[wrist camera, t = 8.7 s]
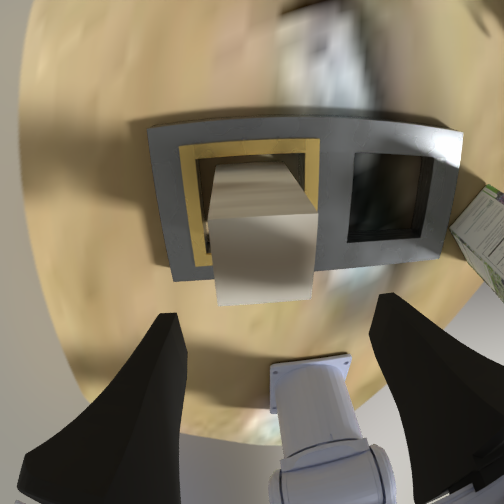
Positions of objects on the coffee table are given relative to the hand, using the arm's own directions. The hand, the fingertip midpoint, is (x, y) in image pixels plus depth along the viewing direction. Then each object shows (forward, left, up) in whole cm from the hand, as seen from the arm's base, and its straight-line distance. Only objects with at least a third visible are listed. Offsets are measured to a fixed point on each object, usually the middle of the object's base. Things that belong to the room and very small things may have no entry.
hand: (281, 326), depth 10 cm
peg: (+1, 0, -10) cm, 10 cm away
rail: (+1, -4, -10) cm, 11 cm away
